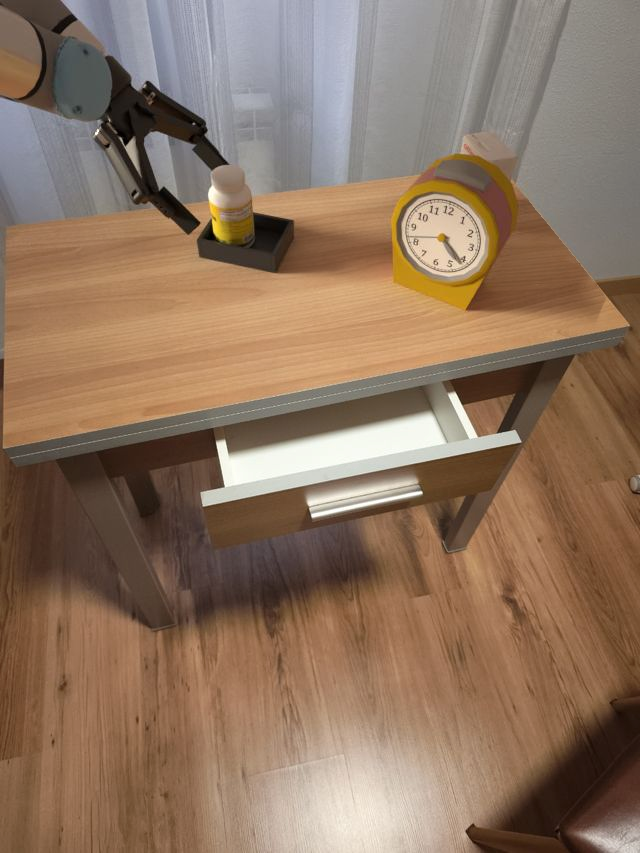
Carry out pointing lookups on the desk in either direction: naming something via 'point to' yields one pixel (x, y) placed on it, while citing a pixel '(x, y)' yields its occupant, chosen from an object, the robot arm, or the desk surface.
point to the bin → (263, 253)
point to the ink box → (490, 151)
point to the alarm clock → (452, 228)
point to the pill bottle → (231, 207)
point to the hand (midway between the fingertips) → (213, 202)
